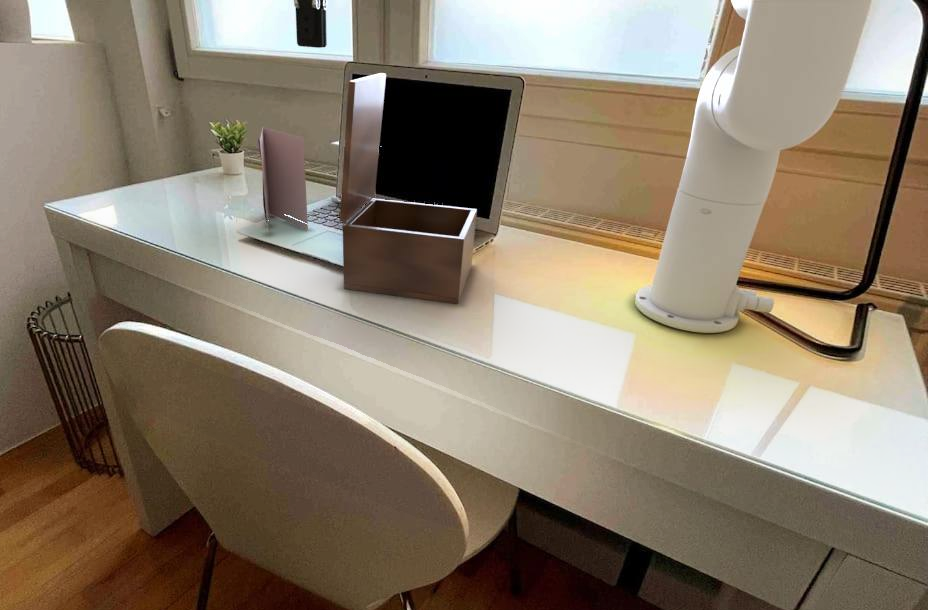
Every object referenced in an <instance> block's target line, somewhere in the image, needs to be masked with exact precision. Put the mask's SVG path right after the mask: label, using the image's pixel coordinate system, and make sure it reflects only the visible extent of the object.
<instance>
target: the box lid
mask: <svg viewBox="0 0 928 610" xmlns="http://www.w3.org/2000/svg"><path fill="white" fill-rule="evenodd" d="M386 79H387V74H386V73H384V72H379V73H375V74H370V75H367V76H363V77H359V78H355V79H352V80H348V86H347V102H346V114H345V116H346V117H345V130H344V131H345V132H344V140H345V145H344V161H343V176H342V175H341V191H342V192H341V191H340V192H341V193H340V194H341V203H340V207H339V222H342V223H346V222H347V221H348V220H349V219H350V218H352V217H353V216H354V215H355V214H356V213H357V212H358V211H359V210H360V209H361V207H363V206H364V205H365V204H366V203H367V202H368V201H369V200H370V199H371V198H372V197H373V196H374V195H375V196H376V186H377V175H378V164H379V156H380V154H379V146H380V143H381V134H382V133H381V132H382V121H383V111H384V103H385V101H384V100H385V93H386V91H385V90H386Z"/></svg>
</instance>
